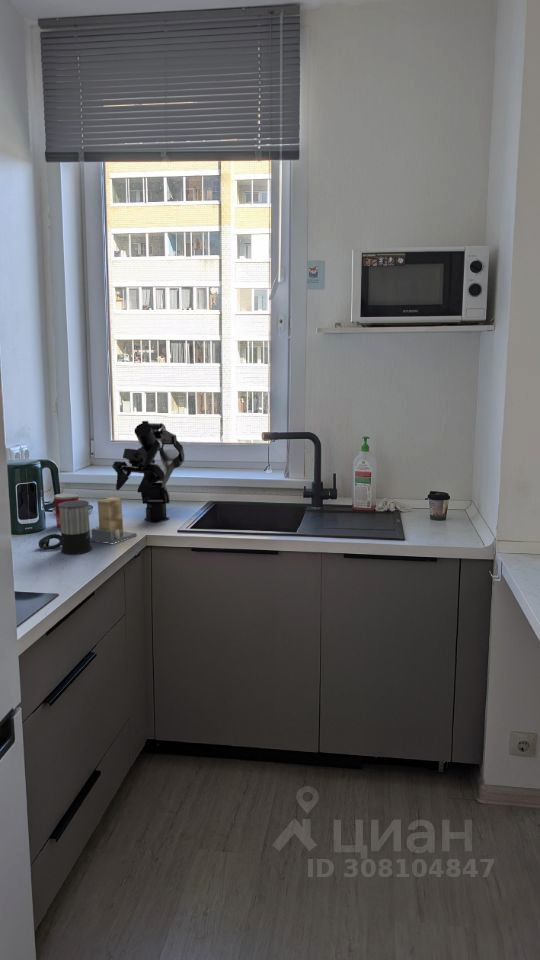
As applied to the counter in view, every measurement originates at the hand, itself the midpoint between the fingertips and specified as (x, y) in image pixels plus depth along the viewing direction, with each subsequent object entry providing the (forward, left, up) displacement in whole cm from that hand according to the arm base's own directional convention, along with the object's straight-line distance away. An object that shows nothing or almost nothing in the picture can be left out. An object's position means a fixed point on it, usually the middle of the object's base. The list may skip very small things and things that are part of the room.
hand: (127, 490), depth 249 cm
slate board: (+10, +5, -14) cm, 17 cm away
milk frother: (+27, +5, -14) cm, 31 cm away
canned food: (+11, -21, -14) cm, 28 cm away
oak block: (+10, +5, -13) cm, 17 cm away
